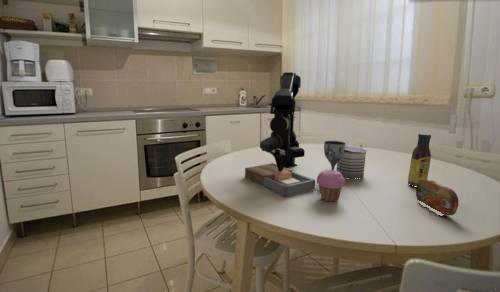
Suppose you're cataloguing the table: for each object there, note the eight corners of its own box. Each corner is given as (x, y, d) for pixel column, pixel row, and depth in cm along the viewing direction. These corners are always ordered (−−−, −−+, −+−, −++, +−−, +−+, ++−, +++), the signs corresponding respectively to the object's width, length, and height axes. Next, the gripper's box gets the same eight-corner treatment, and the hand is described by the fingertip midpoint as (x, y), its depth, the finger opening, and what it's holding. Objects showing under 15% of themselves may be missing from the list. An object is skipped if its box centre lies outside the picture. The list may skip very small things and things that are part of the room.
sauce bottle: (419, 189, 107) (427, 136, 103) (403, 184, 113) (410, 133, 108) (430, 187, 110) (438, 134, 106) (414, 182, 116) (421, 132, 111)
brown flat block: (272, 172, 125) (272, 163, 124) (291, 180, 115) (292, 170, 114) (245, 177, 117) (245, 168, 116) (263, 186, 107) (263, 176, 106)
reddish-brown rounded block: (413, 200, 97) (417, 176, 95) (422, 200, 97) (426, 176, 96) (447, 221, 83) (452, 193, 81) (457, 221, 83) (463, 192, 81)
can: (340, 169, 131) (342, 143, 128) (367, 174, 124) (370, 146, 122) (331, 176, 121) (333, 147, 119) (359, 181, 115) (362, 151, 112)
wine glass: (342, 178, 119) (345, 141, 116) (342, 184, 112) (345, 145, 108) (322, 175, 121) (325, 140, 118) (320, 181, 114) (323, 143, 111)
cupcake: (348, 203, 94) (351, 173, 92) (324, 206, 91) (326, 175, 89) (333, 193, 102) (335, 165, 100) (310, 195, 100) (312, 167, 97)
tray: (291, 180, 115) (292, 171, 114) (314, 189, 105) (315, 180, 105) (263, 186, 107) (263, 177, 106) (285, 197, 98) (285, 187, 97)
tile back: (287, 170, 110) (291, 172, 108) (286, 182, 111) (291, 184, 109) (274, 173, 107) (278, 174, 105) (274, 184, 108) (278, 186, 106)
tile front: (300, 181, 105) (299, 187, 105) (292, 177, 108) (291, 184, 109) (287, 184, 102) (286, 190, 102) (279, 180, 105) (278, 186, 106)
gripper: (248, 127, 109) (248, 168, 112) (282, 135, 94) (280, 181, 97) (272, 125, 115) (270, 164, 119) (306, 132, 100) (304, 176, 104)
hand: (280, 171), depth 109 cm, fingers closed
